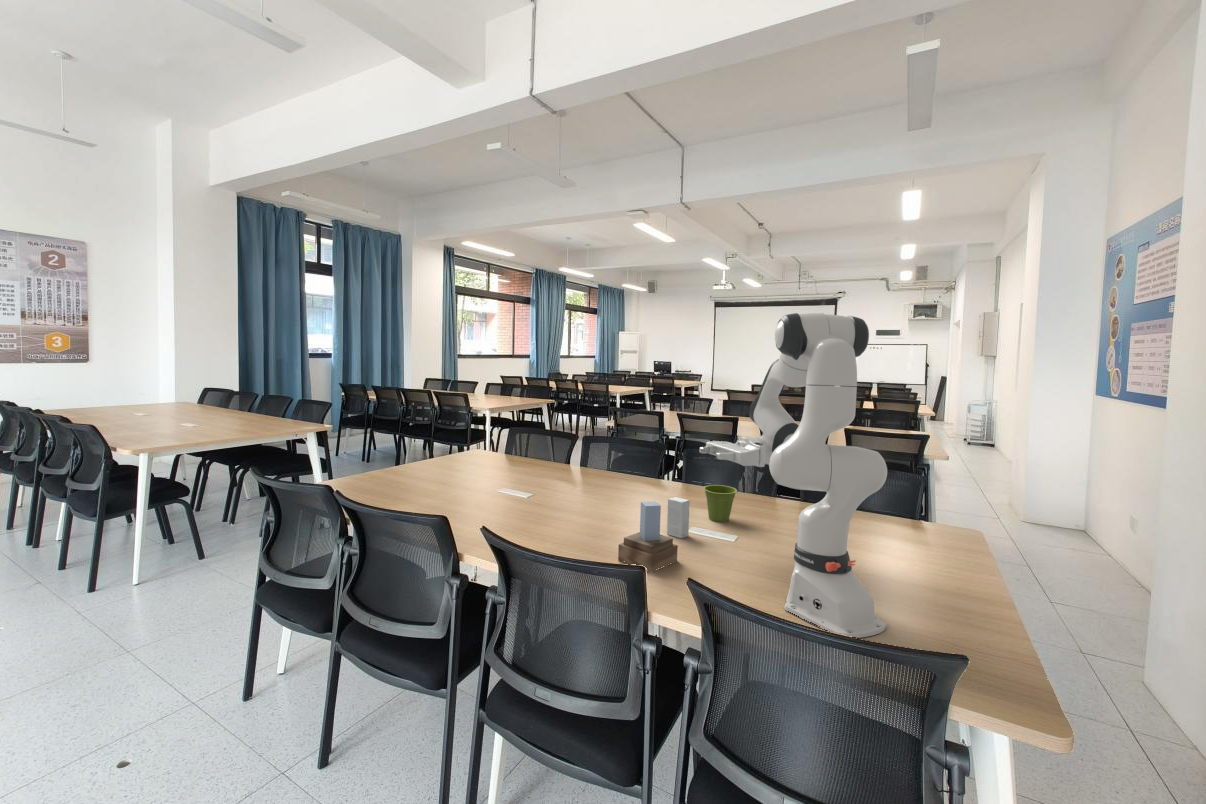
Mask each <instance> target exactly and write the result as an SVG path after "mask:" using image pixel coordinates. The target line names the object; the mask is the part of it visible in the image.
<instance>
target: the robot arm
mask: <svg viewBox="0 0 1206 804" xmlns="http://www.w3.org/2000/svg"><path fill="white" fill-rule="evenodd" d="M774 341H775V346H776V349H777V350H778V351H779V352H780V355H779V358H777V359H776V360H775V361H773V362H772V363H771V365H770V366H769V368H768V369H767V370H768V371H766V373H765V377H764V379H763V381H762V383H761V387H760V388H759V390H758V393H757V395H756V397H755V399H754V400H753V401H752V403H751V404H750V407H749V409H748V410H749V411H748V415H749V418H750V420H751V421H753V423H754V424H755V425H756V426H757V427H758V428H759V429H760V431H761V432H762V434H761V436H748V437H747V436H745V437H740V438H738V440H737V441H736V442H735V443H733V442H729V441H719V440H718V441H716V440H715V441H707V442H706V443H705V446H700V447H699V453H700V454H709V455H713V456H715V458H716V459H717V460H723V461H724V460H725V461H730V462H733V463H734V464H735V463H736V464H738V465H741V466H743V467H747V466H748V467H758V468H764V467H765V465H768V467H769V468H768V469H769V472H770V475H771V477H772V479H773V480H774V482H775V483H776V484H777V485H778V486H779V485H780V486H783V487H787V488H790V489H794V490H802V491H813V492H815V491H816V492H826V494H825V496H824V497H823V498H822V499H821V500H820V501H818V502H816V503H813V504H810V505H808V506H806V507H805V508H804V509H803V510H802V511H801V512H800V514H799V516H798V518H797V519H798V523H797V534H796V535H797V539H796V543H795V545H794V549H793V559H794V561H795V562H794V563H795V564H794V568H793V571H792V573H791V578H790V585H789V589H788V594H787V596H786V602H785V604H784V610H785V612H786V611H787V612H788V611H789V612H788V613H790V612H791V613H790V614H792V613H793V614H792V615H794V614H795V616H796V615H797V616H796V617H798V616H799V617H798V618H800V619H803V620H804V619H805V620H804V621H806V620H807V621H806V622H808V621H809V622H808V623H810V622H812V623H815V624H817V625H820V626H822V627H819V626H817V627H818V628H820V629H822V630H824V629H825V630H828V631H831V632H835V633H839V634H844V635H847V636H852V637H856V638H855V639H858V638H859V639H860V638H866V637H867V638H868V637H871V636H875V635H878V634H880V633H882V632H884V631H885V630H886V628H887V627H886V623H885V621H884V620H882V619H880V618H879V617H878V616H876V615H875V603H874V599H873V597H872V596H871V594H870V593H869V591H868V589H867V588H865V587H864V585H863V584H862V583H861V581H860V580H859V579H858V577H857V576H856V574H855V573H854V572H853V571H852V570H853V567H852V566H857V565H856V562H857V560H855V559H854V560H851V558H850V554H849V551H848V550H847V549H848V538H849V531H850V527H851V526H850V525H851V521H852V519H853V516H854V514H855V512H856V510H857V509H858V508H859V507H860V505H861V504H862V502H864V501H865V500H866V499H867V498H869V497H870V496H871V495H873V494H876V492H878V491H879V490H881V489H882V488H883V486H884V485H885V483H886V480H887V477H888V466H887V464H886V463H887V462H886V460H885V459H884V457H883V456H882V455H881V454H880V453H879V451H877V450H876V451H875V450H872V449H869V448H865V447H860V446H854V445H853V446H852V445H837V444H835V445H834V444H826V443H827V442H826V441H827V439H828V437H829V436H830V435H831V434H832V433H835V432H838V431H839V430H842V429H844V428H846V427H848V426H850V424H852V422H853V421H854V420H855V417H856V408H857V407H856V406H857V390H858V389H857V388H858V369H857V368H858V367H857V360H856V359H857V358H858V357H860V356H861V355H862V354H863V353H864V352H865V351H866V349H867V347H868V344H869V341H870V330H869V327H868V324H867V323H866V321H865V320H864V319H863V318H860V317H856V316H853V315H847V316H844V315H838V314H829V313H828V314H827V313H826V314H825V313H824V312H823V313H819V312H817V313H816V312H815V313H813V312H812V313H796V312H795V313H788V314H785V315H782V316H781V318H780V319H779V320H778V322H777V324H776V327H775V332H774ZM784 386H786V387H789V388H803V387H805V395H804V405H803V412H802V417H801V420H800V423H799V424H798V423H797V421H795V420H794V418H793V417H792V415H790V413H788V412H787V410H786V409H785V408H784V406H783V405H782V403H781V402H780V400H779V395H780V394H781V392H782V390H783V387H784ZM812 623H811V624H812ZM825 630H824V631H825Z"/></svg>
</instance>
